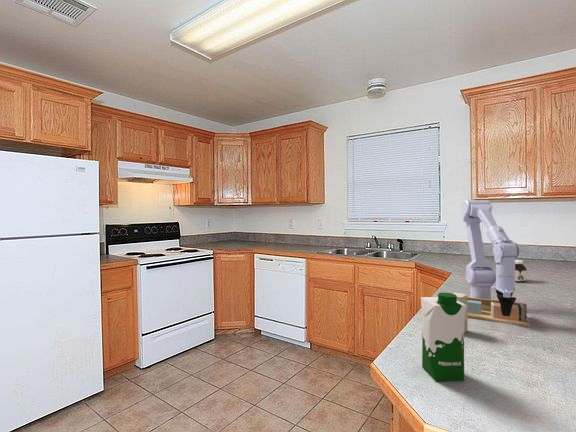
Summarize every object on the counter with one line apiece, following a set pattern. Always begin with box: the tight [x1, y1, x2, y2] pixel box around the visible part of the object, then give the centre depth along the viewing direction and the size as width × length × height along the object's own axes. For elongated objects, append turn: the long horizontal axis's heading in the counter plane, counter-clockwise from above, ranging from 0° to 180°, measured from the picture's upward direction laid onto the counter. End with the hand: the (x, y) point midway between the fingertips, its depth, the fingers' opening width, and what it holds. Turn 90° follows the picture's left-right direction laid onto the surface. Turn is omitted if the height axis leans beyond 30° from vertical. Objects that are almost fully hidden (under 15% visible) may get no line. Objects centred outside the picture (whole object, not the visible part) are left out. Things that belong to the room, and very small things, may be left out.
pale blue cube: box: [467, 300, 481, 315], centre depth 126 cm, size 4×5×4 cm
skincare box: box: [450, 291, 469, 334], centre depth 109 cm, size 6×4×12 cm
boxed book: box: [491, 302, 519, 321], centre depth 120 cm, size 5×8×4 cm, turn 61°
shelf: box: [467, 296, 531, 327], centre depth 123 cm, size 12×20×5 cm, turn 60°
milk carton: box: [420, 292, 467, 382], centre depth 81 cm, size 9×9×20 cm
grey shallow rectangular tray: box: [518, 302, 531, 324], centre depth 117 cm, size 7×2×5 cm, turn 151°
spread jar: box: [515, 259, 528, 284], centre depth 183 cm, size 12×11×12 cm
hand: (505, 312), depth 120 cm, fingers open, 7 cm apart
